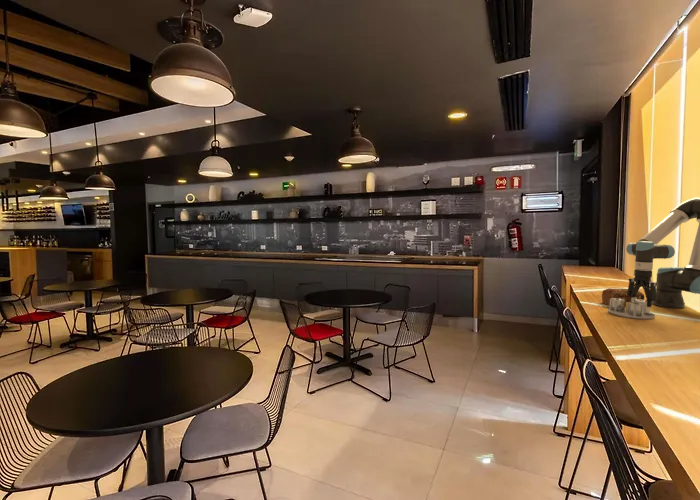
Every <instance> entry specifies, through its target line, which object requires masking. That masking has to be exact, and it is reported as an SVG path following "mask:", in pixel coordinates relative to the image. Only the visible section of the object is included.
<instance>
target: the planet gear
mask: <svg viewBox="0 0 700 500" xmlns="http://www.w3.org/2000/svg"><path fill="white" fill-rule="evenodd" d="M645 301H646V299H644V300H639V299H633V300H632V303H640V304H644V305H645Z"/></svg>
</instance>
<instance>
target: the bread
mask: <svg viewBox="0 0 700 500" xmlns="http://www.w3.org/2000/svg"><path fill="white" fill-rule="evenodd" d="M627 292H628V288H624V287H623V288H621V287H620V288H611V287H610V288H605V289H604V290H602V292H601V293H602V294H601V301H602V303H603V304H605V305H608V306H610V299H611V298H620V299H623V300H625V307H626V302H630V299H631V297H630V296H629V295H627ZM636 298H637V299H639V300H645V293H643V292H641V291H639V290H638V292H637V295H636Z"/></svg>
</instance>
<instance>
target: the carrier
mask: <svg viewBox="0 0 700 500" xmlns="http://www.w3.org/2000/svg"><path fill="white" fill-rule="evenodd" d="M608 306H609V308H608V313H609V314H611V315H614V316H616V317H622V318H626V319H632V320H653V319H655V314H654V313H652V312H651V311H650V313H644V311H645V305H644V304H640V303H632V302H626V306H625V300H623V299H620V298H611V299H610V305H608Z"/></svg>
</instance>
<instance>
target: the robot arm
mask: <svg viewBox="0 0 700 500" xmlns="http://www.w3.org/2000/svg"><path fill="white" fill-rule="evenodd" d="M692 219H696V222H697V223H698V226H697V229H696V230H697V231H696V235H695V238H694V242H693V245H692V249H691V254H690V257H689V262H688V264H687V265H685V266H684V267H679V266H677V267H672V266H671V267H670V266H669V267H668V266H667V267H659V268H658V269H657V273H656V281H652V277H653V271H652V270H653V268H654V267H653V266H654V264H653V263H654V259H655V260H656V259H659V260H660V259H661V260H663V259H664V260H666V259H670V258H671V259H672V258H673V257H674V255H675V253H676V250H675V247H674V246H672V245H670V244H659V243H660V242H662V241H663V240H664V239H665V238H667V236H669V235H670V234H671V233H672V232H673V231H675V230H676V229H678V227H679V226H681V225H682V224H685V223H687V222H689V221H690V220H692ZM626 253H627V254H628V255H630V256H635V258H634V259H635V261H634V272H633V275H634V278H631V277H630V278H628V287H627V289H628V292H627V295H629V296H630V297H631V299H630V302H632V300H633V299H637V298H636V295H637V292H638V291H639V290H640V288H641V287H642V289H643V291H644V297H645V311H644V313H650V312H651V311H650V310H651V308H652V305H653V306H657V307H663V308H672V309H683V308H685V307H686V305H685V304H686V303H685V300H684V297H683V293H682V292H685V293H686V292H687V293H691V294H695V295H696V294H697V295H700V197H693V198H691V199H690V198H689V199H687V200H686V201H683V202H681V203H680V204H678V205H677V206H675V207H674V208H673V209H672V210H670V212H669V214H668V215H667V216H666V217H665V218H664V219H663V220H661V221H660V222H659V223H658V224H656V226H655V227H653V228H652V229H651V230H650V231H648V232H647V233H646V234H644V235H643V236H642V237H641V238H640V239H639V240H638V241H636V242H630V243H628V244H627V245H626Z"/></svg>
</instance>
